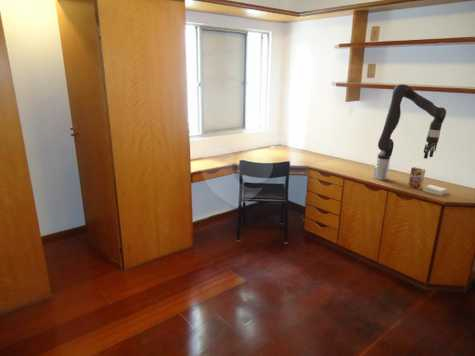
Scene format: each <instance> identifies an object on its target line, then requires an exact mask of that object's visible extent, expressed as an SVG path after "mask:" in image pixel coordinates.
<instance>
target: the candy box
mask: <svg viewBox="0 0 475 356" xmlns="http://www.w3.org/2000/svg"><path fill="white" fill-rule="evenodd" d="M425 175H426V169H425V168H424V169H423V168H420V167H415V166H413V167H411V169H410V174H409V179H408V185H407V187H409V188H412V189H416V190H418V191H420V190H422V189H423V185H424V178H425Z"/></svg>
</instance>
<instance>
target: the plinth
mask: <svg viewBox="0 0 475 356" xmlns="http://www.w3.org/2000/svg"><path fill="white" fill-rule="evenodd" d="M422 189H423V190H422V191H423V192H426V193H430V194H433V195H437V196H442V195H444V194H447V188H445V187H442V186H441V187H440V186H436V185H433V184H428V185H425V186H424V187H422Z"/></svg>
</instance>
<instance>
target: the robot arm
mask: <svg viewBox="0 0 475 356" xmlns="http://www.w3.org/2000/svg"><path fill="white" fill-rule="evenodd" d="M403 98H405V99H407V100H410V101H411V102H413V103H414V104H415V106H417V107H419V109H422V110H423V111H425V112H426V113H427V114H428V115H430V116H431V117H432V118H433V120H432V121H431V122H430V125H429V129H428V131H427V135H426V139H425V141H426V143H427V144H424V149H423V154H424V155H423V159H425V160H427V159H428V157H429V158H433V156H434V153H435V152H436V151H437V146H438V143H439V139H440V135H441V129H442V124H443V123H444V121H445V118H446V116H447V109H446V108H444V107H438V106H436V105H435V104H434V102H432V101H431V100H429V99H427V98H426V97H424V96H422V95H420V94H419V93H417V92H416V91H414V90H413V88H411V87H410V86H409V85H408V84H397V85H396V86H395V87H394V89H393V91H392V96H391V102H390V104H389V109H388V112H387V115H386V119H385V123H384V126H383V129H382V132H381V135H380V137H379V140H378V142H377V147H378V149H379V150H380V151H379V153H378V154H377V161H376V166H374V172H373V178H374V179H376V180H379V181H386V180H387V179H388V173H389V167H390V160H391V156H392V154H393V150H394V144H395V143H394V140H393V139H392V138H391V136H392V134H393V132H395V129H396V128H397V126H398V124H399V122H400V119H401V115H402V114H401V104H402V101H403Z"/></svg>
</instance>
